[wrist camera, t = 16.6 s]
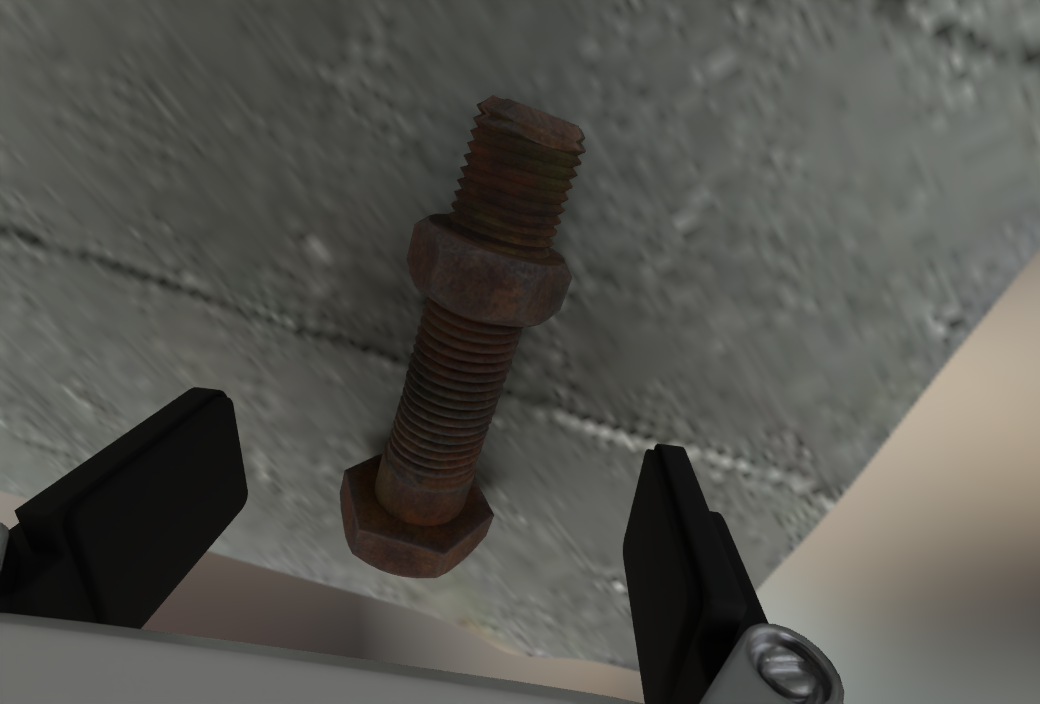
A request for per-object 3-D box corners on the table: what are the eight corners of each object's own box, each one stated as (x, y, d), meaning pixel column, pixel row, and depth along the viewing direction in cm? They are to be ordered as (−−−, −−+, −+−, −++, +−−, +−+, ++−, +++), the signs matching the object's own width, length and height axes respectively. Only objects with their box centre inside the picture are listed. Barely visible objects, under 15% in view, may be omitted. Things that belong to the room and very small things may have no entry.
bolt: (559, 126, 17) (448, 469, 23) (418, 71, 14) (332, 475, 20) (672, 158, 12) (497, 574, 18) (497, 86, 10) (357, 600, 15)
